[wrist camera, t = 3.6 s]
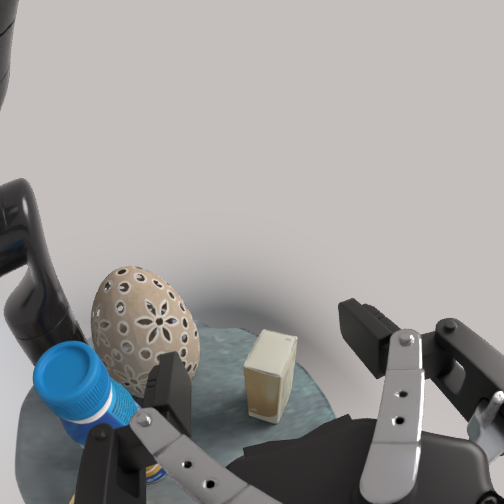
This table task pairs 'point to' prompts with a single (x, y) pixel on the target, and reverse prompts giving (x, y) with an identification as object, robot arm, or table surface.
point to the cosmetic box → (269, 375)
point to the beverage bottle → (84, 393)
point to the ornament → (141, 327)
